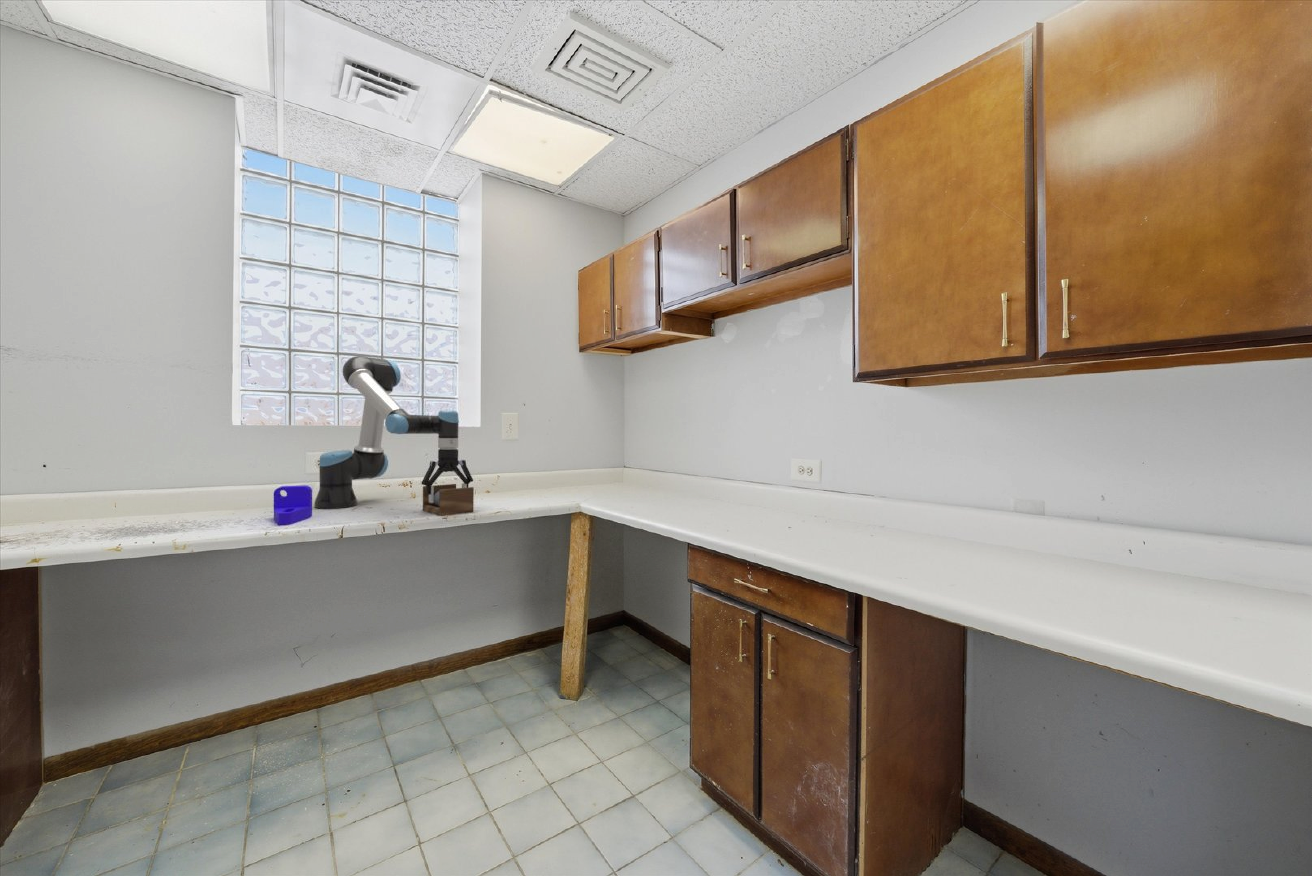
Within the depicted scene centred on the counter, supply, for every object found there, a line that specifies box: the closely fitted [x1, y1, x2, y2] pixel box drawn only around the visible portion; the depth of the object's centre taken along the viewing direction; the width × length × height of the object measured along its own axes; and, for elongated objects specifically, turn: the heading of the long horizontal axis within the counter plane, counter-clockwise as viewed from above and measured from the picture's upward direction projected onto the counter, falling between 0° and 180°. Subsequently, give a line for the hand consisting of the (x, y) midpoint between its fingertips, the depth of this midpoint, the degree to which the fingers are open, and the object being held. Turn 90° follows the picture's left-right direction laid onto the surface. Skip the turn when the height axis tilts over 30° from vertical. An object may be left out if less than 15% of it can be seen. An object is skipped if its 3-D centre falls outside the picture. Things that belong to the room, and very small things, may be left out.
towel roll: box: [434, 491, 439, 507], centre depth 200 cm, size 12×7×7 cm, turn 47°
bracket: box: [273, 484, 313, 526], centre depth 177 cm, size 18×11×12 cm, turn 27°
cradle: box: [422, 483, 475, 517], centre depth 200 cm, size 16×13×10 cm
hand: (447, 500), depth 200 cm, fingers open, 13 cm apart
